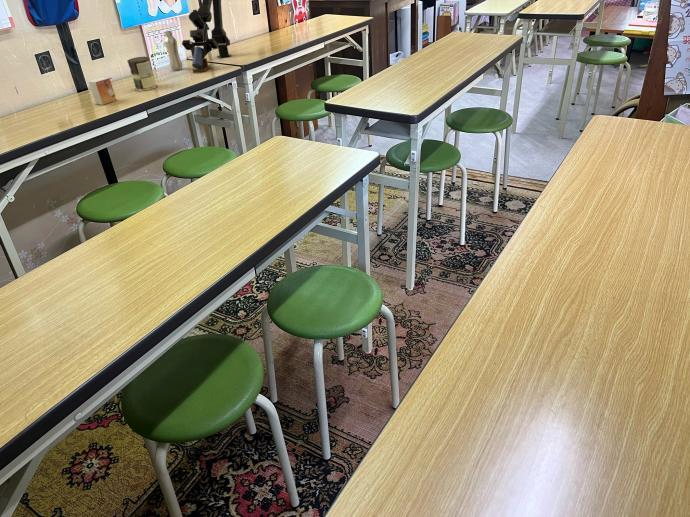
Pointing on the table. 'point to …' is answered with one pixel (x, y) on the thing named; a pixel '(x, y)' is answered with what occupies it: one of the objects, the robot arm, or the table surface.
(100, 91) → the small box
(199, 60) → the blue box
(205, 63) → the stand
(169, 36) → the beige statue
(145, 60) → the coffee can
